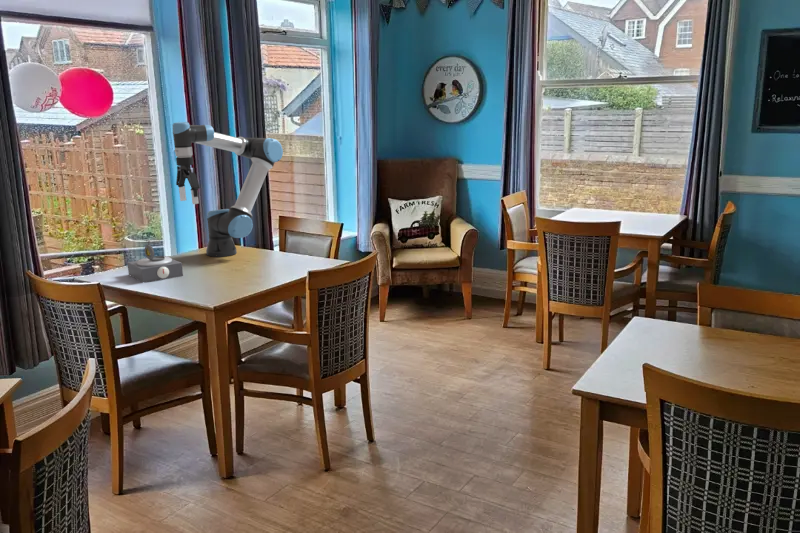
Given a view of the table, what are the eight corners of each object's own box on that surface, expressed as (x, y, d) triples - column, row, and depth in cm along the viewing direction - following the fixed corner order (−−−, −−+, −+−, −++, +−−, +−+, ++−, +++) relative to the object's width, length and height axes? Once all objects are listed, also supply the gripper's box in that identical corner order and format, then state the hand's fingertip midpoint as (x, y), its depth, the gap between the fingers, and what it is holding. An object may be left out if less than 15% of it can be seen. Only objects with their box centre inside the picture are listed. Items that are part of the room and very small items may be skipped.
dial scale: (128, 275, 308) (127, 260, 306) (167, 268, 319) (166, 254, 317) (143, 283, 294) (142, 267, 292) (183, 276, 305) (182, 261, 303)
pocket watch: (167, 258, 309) (165, 236, 307) (159, 262, 301) (157, 240, 298) (150, 258, 310) (148, 236, 307) (141, 262, 301) (139, 240, 299)
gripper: (165, 155, 317) (170, 200, 323) (188, 159, 299) (193, 206, 305) (180, 154, 322) (185, 198, 328) (203, 157, 304) (208, 204, 309)
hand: (189, 202), depth 316 cm, fingers open, 13 cm apart
